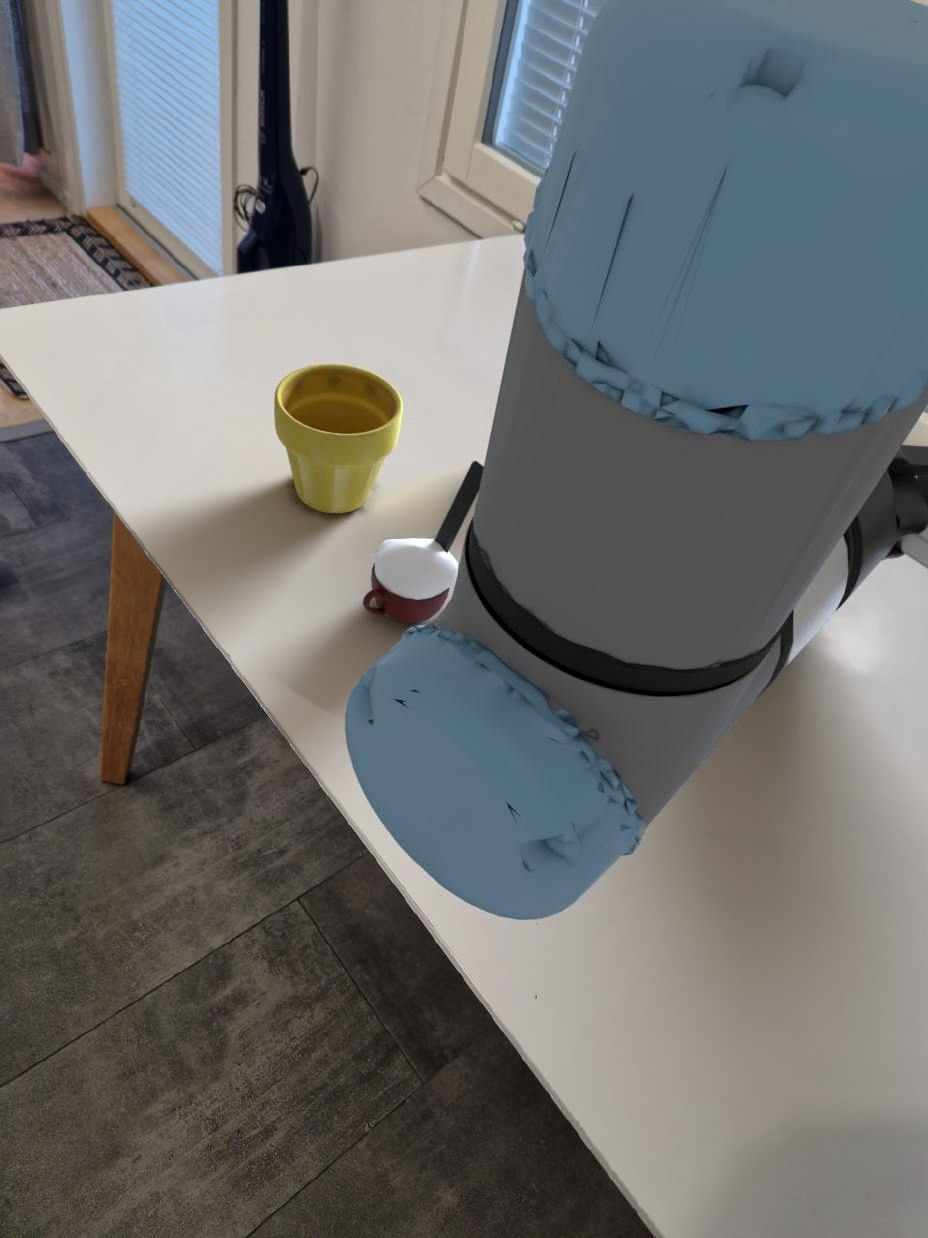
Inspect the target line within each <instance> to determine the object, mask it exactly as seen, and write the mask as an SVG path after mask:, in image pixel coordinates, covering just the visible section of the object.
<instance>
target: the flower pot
mask: <svg viewBox="0 0 928 1238" xmlns="http://www.w3.org/2000/svg"><path fill="white" fill-rule="evenodd" d="M273 401H274V402H273V403H274V404H273V405H274V406H273V409H274V411H273V413H274V428H275V432H276V435H277V438H278V440H279V442H281V444H282V445H283V446H284V447H285V451H286V453H287V459H288V462H289V467H290V470H291V474H292V478H293V483H294V487H295V491H296V495H297V496H298V498H300V501H301V502H303V503H304V504H305V505H307V506H308V507H309V508H312V509H313V510H316V511H319V512H322V513H326V514H343V513H344V514H345V513H349V512H353V511H356V510H358V509H359V508H361V507H363V506H364V505H365V504H366V503H367V502H368V500H369V499H370V497H371V494H372V492H373V489H374V486H375V484H376V482H377V479H378V476H379V474H380V472H381V469H382V467H383V465H384V461H385V459H386V458H387V457H388V456H389V455H390V454H391V453H392V452H393V451H394V449H395V448H396V446H397V444H398V441H399V436H400V432H401V426H402V418H403V410H404V409H403V408H404V405H403V400H402V397H401V395H400V393H399V392H398V390H397V389H396V388H395V386H393V385H392V384H391V382H389V381H388V380H386V379H385V378H383V377H382V376H380V375H378V374H376V373H374V372H372V371H370V370H368V369H364V368H361V367H358V366H353V365H348V364H339V363H322V364H314V365H308V366H304V367H301V368H299V369H297V370H294V371H292V372H290V373H289V374H288V375H286V376H284V377H283V378H282V379H281V381H280V382H279V383H278V385H277V386H276V388H275V392H274V398H273Z"/></svg>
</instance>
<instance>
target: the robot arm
mask: <svg viewBox="0 0 928 1238" xmlns="http://www.w3.org/2000/svg"><path fill="white" fill-rule="evenodd" d="M555 141H556V142H555V145H554V148H553V152H552V155H551V159H550V163H549V165H548V167H547V168H546V170H545V171H544V173H543V176H542V177H541V179H540V181H539V182H538V184H537V187H536V188H535V192H534V193H535V194H534V197H533V204H532V211H531V212H530V213H529V214H528V215H527V218H526V221H525V222H526V223H525V229H524V235H523V242H524V246H525V251H524V253H523V256H522V259H523V260H522V261H523V265H524V266H523V272H522V277H521V280H520V281H521V282H520V287H519V292H518V297H517V302H516V307H515V311H514V317H513V321H512V326H511V331H510V336H509V341H508V346H507V350H506V354H505V355H506V356H505V359H504V360H505V361H504V365H503V371H502V375H501V380H500V384H499V390H498V395H497V400H496V405H495V409H494V415H493V418H492V419H493V420H492V424H491V429H490V434H489V438H488V445H487V450H486V454H485V458H484V464H483V467H484V468H483V473H482V478H481V483H480V488H479V492H478V494H477V497H476V501H475V506H474V512H473V516H472V517H471V519H470V522H469V524H468V526H467V528H466V532H465V536H464V541H463V545H462V550H461V555H460V559H459V564H458V568H457V577H456V581H455V584H454V589H453V591H452V595H451V598H450V599H449V601H448V602H447V604H446V605H445V607H444V609H443V610H442V611H441V612H440V613H439V614H438V615H437V616H436V617H435V618H433V619H431V620H429V621H427V622H425V623H423V624H414V625H411V627H409V628H407V629H405V630H404V631H403V633H402V635H401V637H400V639H399V641H398V642H397V643H395V645H394V646H392V647H391V648H390V649H389V650H388V651H387V652H386V653H385V654H383V655H382V656H381V657H380V658H379V659H378V660H377V661H376V662H375V663H374V664H372V665H371V666H370V667H369V668H368V669H367V670H366V671H365V672H363V673H362V674H361V675H360V677H359V678H358V680H357V682H356V683H355V684H354V686H353V687H352V689H351V691H350V693H349V697H348V700H347V704H346V708H345V715H344V733H345V741H346V747H347V751H348V755H349V758H350V763H351V765H352V768H353V771H354V774H355V776H356V779H357V781H358V784H359V786H360V788H361V790H362V793H363V794H364V797H365V798H366V800H367V801H368V804H369V805H370V807H371V809H372V810H373V812H374V814H375V815H376V816H377V818H378V819H379V821H380V823H381V824H382V826H384V828H385V829H386V830H387V831H388V833H389V834H390V835H391V837H392V838H393V839H394V841H395V842H396V844H397V845H398V846H399V848H401V849H402V850H403V851H404V852H405V853H406V854H407V855H408V857H410V859H411V860H412V861H414V863H415V864H417V865H418V866H419V867H420V868H421V869H422V870H423V871H425V872H426V873H427V875H429V876H430V877H431V878H432V879H433V880H434V881H435V882H436V883H437V884H438V885H439V886H441V887H442V888H443V889H444V890H446V891H448V892H449V893H451V894H452V895H453V896H456V897H457V898H458V899H460V900H462V901H464V902H465V903H467V904H469V905H470V906H471V907H475V908H477V909H480V910H481V911H484V912H486V913H488V914H491V915H494V916H497V917H501V918H505V919H512V920H518V921H527V920H528V921H533V920H543V919H545V918H548V917H552V916H554V915H557V914H559V913H562V912H564V911H565V910H567V909H568V908H569V907H572V905H574V904H575V903H576V902H577V901H578V900H579V899H580V898H581V897H582V896H583V895H584V894H585V893H586V892H587V891H588V890H589V889H590V888H591V887H592V886H593V885H594V884H595V883H596V882H597V881H598V880H599V879H600V878H601V877H602V876H603V875H604V874H605V873H606V872H607V871H608V870H609V869H610V868H611V867H612V866H613V865H614V864H615V863H616V862H617V861H618V860H619V859H620V858H621V857H622V856H629V855H632V854H634V852H635V851H636V849H637V848H638V847H639V846H640V844H641V842H642V841H643V839H642V836H643V835H644V833H645V832H646V831H645V830H646V829H647V828H648V827H649V826H650V824H651V823H652V822H653V821H654V820H655V818H656V817H657V816H658V815H659V814H660V812H662V810H663V809H664V808H665V807H666V806H667V804H668V803H669V802H670V800H672V799H673V798H674V796H675V795H676V794H677V792H678V791H679V790H680V789H681V788H682V787H683V786H684V784H686V782H688V780H689V779H690V778H691V776H692V775H693V774H694V773H695V772H696V771H697V770H698V769H699V768H700V766H701V765H702V764H703V763H704V761H705V760H706V759H707V758H708V757H709V756H710V755H711V754H712V752H713V751H714V750H715V749H716V747H717V746H718V745H719V744H720V743H721V741H722V740H723V739H724V738H725V737H726V735H727V734H728V733H729V732H730V731H731V729H732V728H733V727H734V725H736V723H737V722H738V721H739V720H740V719H741V717H742V716H743V715H744V713H745V712H746V711H747V710H748V709H749V707H750V706H751V705H752V704H753V703H754V702H755V701H756V700H757V699H758V698H759V697H760V696H761V695H762V694H763V693H764V692H765V691H766V690H767V689H768V688H769V687H770V686H771V685H772V684H773V682H774V681H775V680H776V679H777V678H778V676H779V675H780V674H781V673H782V672H783V671H784V670H785V669H786V668H787V666H789V664H790V663H791V662H792V661H793V660H794V659H795V658H796V657H797V655H798V654H799V653H800V652H801V651H802V650H803V649H804V648H805V647H806V646H807V644H809V642H810V641H811V640H812V639H813V638H814V636H816V634H817V633H819V631H820V630H821V629H822V628H823V626H825V625H826V623H827V622H828V621H829V620H830V619H831V618H832V617H833V615H834V614H836V612H837V611H838V610H839V609H840V608H841V607H842V606H843V605H844V604H845V603H846V601H847V600H848V599H849V598H850V597H851V596H852V595H853V593H854V592H856V590H857V589H858V587H860V585H862V583H863V582H864V581H865V580H866V579H867V577H869V575H871V574H872V572H873V571H874V569H875V568H876V567H878V565H879V564H880V563H881V562H882V561H885V560H892V559H897V558H900V557H903V556H905V555H906V556H907V557H909V558H911V559H912V560H913V561H915V562H916V563H918V564H919V565H921V566H923V568H925V569H927V570H928V446H927V445H913V444H904V443H905V441H906V440H907V439H908V436H909V435H910V433H911V432H912V430H913V429H914V427H915V425H917V422H918V421H919V419H920V418H921V416H922V415H923V413H924V412H925V410H926V408H927V407H928V5H927V4H923V3H919V2H917V1H914V0H606V1H605V2H604V3H603V4H602V6H601V7H600V8H599V10H598V12H597V14H596V15H595V17H594V18H593V21H592V23H591V25H590V28H589V29H588V32H587V34H586V37H585V39H584V42H583V45H582V49H581V52H580V56H579V59H578V63H577V66H576V69H575V74H574V76H573V81H572V84H571V87H570V91H569V95H568V99H567V102H566V105H565V109H564V113H563V116H562V120H561V123H560V127H559V131H558V134H557V137H556V140H555Z"/></svg>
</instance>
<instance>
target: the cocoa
mask: <svg viewBox="0 0 928 1238" xmlns="http://www.w3.org/2000/svg"><path fill="white" fill-rule="evenodd" d="M483 468H484V465H483V464H481V463H480V462H478V461H477V460H473V461H472V462H471V463H470V465H469V468H468V470H467V471H466V474H465V475H464V478H463V480H462V482H461V484H460V486H459V488H458V490H457V492H456V494H455V496H454V498H453V500H452V502H451V504H450V506H449V509H448V511H447V513H446V515H445V516H444V519H443V521H442V523H441V525H440V527H439V529H438V531H437V533H436V535H435V537H434V538H414V537H412V538H410V537H409V538H395V539H394V538H393V539H391V538H390V539H385V540H384V541H383V542H382V543H381V544H380V545H379V546H378V548H377V549H376V550H375V553H374V554H375V555H374V563H373V565H372V568H371V575H370V583H371V590H369V591H368V592H367V593H366V594H365V595H364V597H363V599H362V606H363V607H364V609H365V610H366V611H367V612H369V613H370V614H373V615H377V616H381V617H382V616H386V617H388V618H391V619H392V620H395V621H398V622H400V623H405V624H406V623H407V624H417V623H421V622H424V621H427V620H429V619H431V618H433V616H435V615H436V614H437V613H438V612H440V610H441V608H442V607H443V606H444V604H445V603H446V601H447V599H448V596H449V593H450V589H451V587H453V586H455V583H456V578H457V573H458V568H459V564H458V561H457V560H456V559H455V557H454V556H453V555H452V554H451V553H450V549H451V548H452V545H453V543H454V541H455V540H456V537H457V536H458V533H459V532H460V530H461V527H462V526H463V524H464V522H465V520H466V518H467V516H468V514H469V512H470V510H471V508H472V506H473V503H474V502H475V500H476V499H477V497H478V493H479V488H480V483H481V478H482V473H483ZM373 600H375V603H376V606H377V607H373V606H371V602H372V601H373Z"/></svg>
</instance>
